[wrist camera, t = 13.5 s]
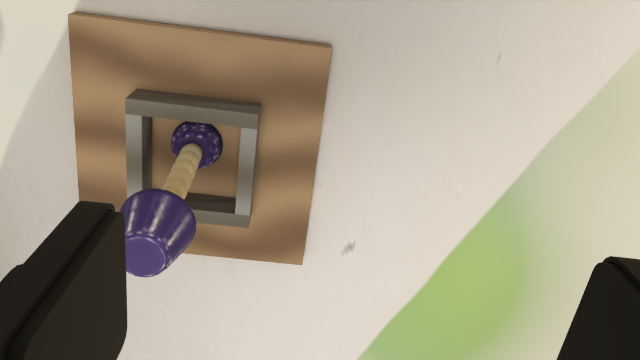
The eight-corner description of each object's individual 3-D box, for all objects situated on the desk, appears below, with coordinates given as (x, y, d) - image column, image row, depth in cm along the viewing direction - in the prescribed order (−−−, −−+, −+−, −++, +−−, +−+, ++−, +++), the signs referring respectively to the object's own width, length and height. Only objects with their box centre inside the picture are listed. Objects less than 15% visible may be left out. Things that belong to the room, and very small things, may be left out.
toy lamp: (236, 156, 44) (200, 268, 29) (191, 182, 45) (133, 303, 30) (203, 109, 43) (146, 201, 27) (157, 137, 43) (76, 241, 28)
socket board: (75, 11, 41) (49, 19, 37) (331, 45, 42) (333, 56, 38) (88, 234, 49) (68, 261, 45) (302, 256, 50) (301, 284, 46)
